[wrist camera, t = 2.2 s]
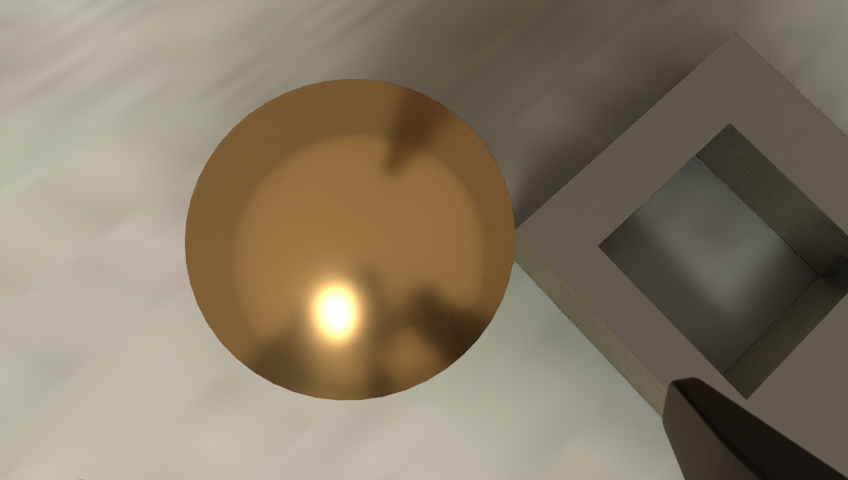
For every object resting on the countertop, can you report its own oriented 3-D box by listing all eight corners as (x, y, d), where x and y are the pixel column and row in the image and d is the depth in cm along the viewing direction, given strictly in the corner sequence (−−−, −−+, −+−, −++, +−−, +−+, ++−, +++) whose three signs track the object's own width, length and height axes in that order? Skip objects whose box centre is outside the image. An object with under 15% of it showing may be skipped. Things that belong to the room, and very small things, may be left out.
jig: (1074, 427, 20) (1170, 435, 17) (888, 659, 18) (964, 705, 16) (698, 69, 22) (735, 32, 20) (501, 246, 20) (515, 229, 18)
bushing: (476, 318, 20) (582, 244, 8) (376, 410, 19) (331, 476, 7) (388, 221, 20) (368, 21, 9) (288, 307, 20) (117, 216, 8)
